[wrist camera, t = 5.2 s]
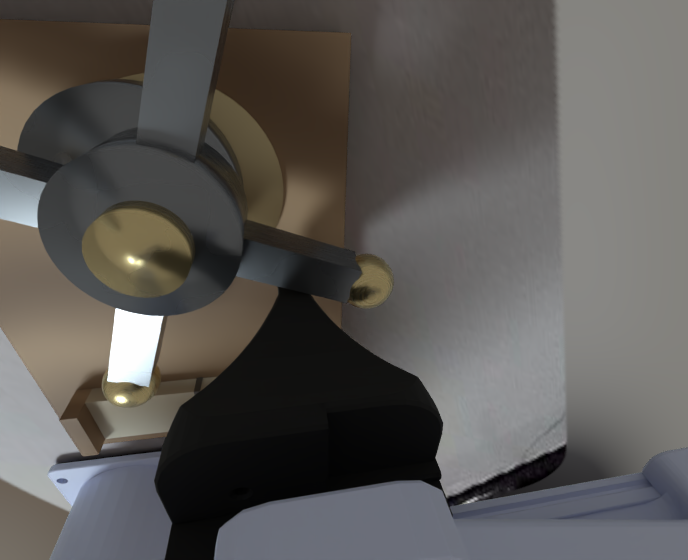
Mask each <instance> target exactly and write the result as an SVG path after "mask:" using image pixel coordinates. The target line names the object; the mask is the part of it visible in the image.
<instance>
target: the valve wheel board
mask: <svg viewBox="0 0 688 560" xmlns="http://www.w3.org/2000/svg"><path fill="white" fill-rule="evenodd" d="M149 31H150V25H137V24H112V23H86V22H61V21H35V20H10V19H0V146H3V147H6V148H10V149H13V150H16V151H17V147H18V143H19V138H20V134H21V132H22V130H23V127H24V125H25V123H26V121H27V120H28V118H29V117H30V115H31V114H32V113H33V111H34V110H35V109H36V108H37V107H38V106H39V105H40V104H42V103H43V102H44V101H45V100H47V99H48V98H50V97H51V96H53V95H55V94H56V93H59V92H61V91H63V90H66V89H68V88H71V87H75V86H80V85H84V84H88V83H92V82H96V81H101V80H109V79H129V80H137V81H142V82H143V80H144V72H145V64H146V56H147V47H148V39H149ZM350 52H351V33H341V32H315V31H290V30H264V29H239V28H228V32H227V37H226V42H225V47H224V51H223V56H222V61H221V66H220V70H219V75H218V80H217V85H216V89H215V94H214V99H213V104H212V108H211V113H210V119H211V120H212V121H213V122H214V123H215V124H216V125H217V127H218V128H219V129H220V130H221V131H222V133H223V134H224V135H225V137H226V138H227V140H228V142H229V143H230V145H231V147H232V149H233V151H234V153H235V155H236V157H237V160H238V162H239V165H240V168H241V172H242V177H243V185H244V191H245V194H246V199H247V206H248V217H247V220H250V221H254V222H257V223H260V224H264V225H267V226H270V227H274V228H277V229H280V230H284V231H287V232H290V233H294V234H297V235H300V236H304V237H307V238H310V239H314V240H317V241H320V242H324V243H327V244H330V245H334V246H337V247H340V248H344V229H345V200H346V170H347V141H348V111H349V82H350ZM277 296H278V287H277V286H274V285H269V284H265V283H261V282H257V281H253V280H249V279H245V278H241V277H237V276H236V277H235V279H234V280H233V282H232V284H231V285H230V286H229V287H228V289H227V290H226V291H225V292H224V293H223V294H222V295H221V296H220V297H219V298H217V299H216V300H214V301H213V302H212V303H210V304H208V305H206V306H204V307H202V308H200V309H197V310H195V311H192V312H188V313H184V314H179V315H172V316H168V317H167V322H166V327H165V332H164V336H163V341H162V346H161V351H160V355H159V360H158V363H157V366H158V367H159V369H160V372H161V383H160V387H159V389H158V391H157V393H156V394H155V395H154V396H153V398H151V399H150V400H149V401H148V402H146V403H145V404H143V405H140V406H138V407H134V408H121V407H117V406H115V405H113V404H112V403H110V402H109V401H108V400H107V399H106V398H105V396H104V394H103V391H102V379H103V376H104V374H105V372H106V370H107V369H108V367H109V362H110V353H111V345H112V337H113V328H114V320H115V312H116V308H114V307H111V306H109V305H107V304H104V303H102V302H100V301H98V300H96V299H94V298H93V297H91V296H89V295H88V294H86V293H85V292H83V291H82V290H80V289H79V288H78V287H76V286H75V285H74V284H73V283H71V282H70V281H69V280H68V279H67V278H66V277H65V276H64V275H63V274H62V273H61V272H60V271H59V269H58V268H57V267H56V265H55V264H54V263H53V262H52V260H51V258H50V257H49V255H48V253H47V252H46V250H45V247H44V245H43V243H42V240H41V237H40V233H39V229H38V228H36V227H32V226H28V225H24V224H20V223H16V222H12V221H7V220H3V219H0V327H1V329H2V330H3V332H4V334H5V335H6V337H7V338H8V340H9V341H10V343H11V344H12V346H13V347H14V349H15V350H16V352H17V354H18V355H19V357H20V358H21V360H22V361H23V363H24V364H25V366H26V367H27V369H28V371H29V372H30V374H31V375H32V377H33V378H34V380H35V381H36V383H37V384H38V386H39V387H40V389H41V391H42V392H43V394H44V395H45V397H46V398H47V400H48V401H49V403H50V404H51V406H52V408H53V409H54V411H55V412H56V414H57V415H58V417H59V418H60V419H59V421H60V422H61V424H62V425H63V427H64V428H65V430H66V431H67V433H68V435H69V436H70V438H71V439H72V441H73V442H74V444H75V445H76V447H77V448H78V450H79V451H80V453H81V454H82V456H91V455H99V453H100V450H101V448H102V446H103V444H107V443H115V442H124V441H132V440H141V439H150V438H158V437H166V436H167V434H168V431H169V429H170V426H171V424H172V422H173V420H174V417H175V415H176V413H177V411H178V409H179V407H180V406H181V405H182V404H184V403H185V402H186V401H188V400H189V399H190V398H192V397H193V396H194V395H196V394H197V393H198V392H200V391H201V390H202V389H204V388H205V387H206V386H207V385H209V384H210V383H211V382H212V381H213V380H214V379H215V378H217V377H218V376H219V375H220V374H221V373H222V372H223V371H224V370H225V369H226V368H227V367H228V366H229V365H230V364H231V363H232V362H233V361H234V360H235V359H236V358H237V357H238V356H239V354H240V353H241V352H242V351H243V350H244V349H245V347H246V346H247V345H248V344H249V343H250V341H251V340H252V339H253V337H254V336H255V334H256V333H257V332H258V330H259V329H260V327H261V326H262V324H263V323H264V321H265V319H266V317H267V316H268V314H269V312H270V310H271V309H272V307H273V305H274V303H275V300H276V298H277ZM311 296H312V297H313V298H314V300H315V301H316V302H317V304H318V305H319V306H320V307H321V309H322V310H323V311H324V312H325V313H326V314H327V316H328V317H329V318H330V319H331V320H332V321H333V322H334V323H335V324H336V325H337V326H338V327H339V328H340V329H341V318H342V302H339V301H335V300H331V299H327V298H323V297H319V296H314V295H311Z"/></svg>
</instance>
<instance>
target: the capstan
mask: <svg viewBox="0 0 688 560" xmlns="http://www.w3.org/2000/svg"><path fill="white" fill-rule="evenodd" d="M233 4H234V0H153V6H152V14H151V22H150V31H149V39H148V47H147V56H146V64H145V72H144V80H143V82H142V81H137V80H129V79H109V80H101V81H96V82H92V83H88V84H84V85H80V86H75V87H71V88H68V89H66V90H63V91H61V92H59V93H56V94H55V95H53V96H51V97H50V98H48V99H47V100H45V101H44V102H43V103H42V104H40V105H39V106H38V107H37V108H36V109H35V110H34V111H33V113H32V114H31V115H30V117H29V118H28V120H27V121H26V123H25V125H24V127H23V130H22V132H21V134H20V138H19V143H18V147H17V151H16V150H13V149H10V148H6V147H3V146H0V219H3V220H7V221H12V222H16V223H20V224H24V225H28V226H32V227H36V228H38V229H39V233H40V237H41V240H42V243H43V245H44V247H45V250H46V252H47V253H48V255H49V257H50V258H51V260H52V262H53V263H54V264H55V265H56V267H57V268H58V269H59V271H60V272H61V273H62V274H63V275H64V276H65V277H66V278H67V279H68V280H69V281H70V282H71V283H73V284H74V285H75V286H76V287H78V288H79V289H80V290H82V291H83V292H85V293H86V294H88V295H89V296H91V297H93V298H94V299H96V300H98V301H100V302H102V303H104V304H107V305H109V306H111V307H114V308H116V312H115V320H114V328H113V337H112V345H111V353H110V362H109V367H108V369H107V370H106V372H105V374H104V376H103V379H102V391H103V394H104V396H105V398H106V399H107V400H108V401H109V402H110V403H112V404H113V405H115V406H117V407H121V408H134V407H138V406H140V405H143V404H145V403H146V402H148V401H149V400H150V399H151V398H153V396H154V395H155V394H156V393H157V391H158V389H159V387H160V383H161V372H160V369H159V367H158V366H157V363H158V360H159V355H160V351H161V346H162V341H163V336H164V332H165V327H166V322H167V317H168V316H172V315H179V314H184V313H188V312H192V311H195V310H197V309H200V308H202V307H204V306H206V305H208V304H210V303H212V302H213V301H214V300H216V299H217V298H219V297H220V296H221V295H222V294H223V293H224V292H225V291H226V290H227V289H228V287H229V286H230V285H231V284H232V282H233V280H234V279H235V277H236V276H237V277H241V278H245V279H249V280H253V281H257V282H261V283H265V284H269V285H274V286H278V287H282V288H286V289H290V290H294V291H298V292H302V293H306V294H310V295H314V296H319V297H323V298H327V299H331V300H335V301H339V302H343V303H347V301H348V302H349V303H350V304H352V305H353V306H356V307H358V308H363V309H369V308H374V307H377V306H379V305H381V304H382V303H384V302H385V301H386V300H387V299H388V297H389V296H390V294H391V292H392V289H393V284H394V279H393V273H392V271H391V268H390V267H389V265H388V264H387V263H386V262H385V261H384V260H383V259H382V258H380V257H378V256H376V255H372V254H360V255H357V256H356V254H355V252H354V251H350V250H347V249H344V248H340V247H337V246H334V245H330V244H327V243H324V242H320V241H317V240H314V239H310V238H307V237H304V236H300V235H297V234H294V233H290V232H287V231H284V230H280V229H277V228H274V227H270V226H267V225H264V224H260V223H257V222H254V221H250V220H247V217H248V206H247V199H246V194H245V191H244V185H243V177H242V172H241V168H240V165H239V162H238V160H237V157H236V155H235V153H234V151H233V149H232V147H231V145H230V143H229V142H228V140H227V138H226V137H225V135H224V134H223V133H222V131H221V130H220V129H219V128H218V127H217V125H216V124H215V123H214V122H213V121H212V120H211V119H210V113H211V108H212V104H213V99H214V94H215V89H216V85H217V80H218V75H219V70H220V66H221V61H222V56H223V51H224V47H225V42H226V37H227V32H228V28H229V23H230V18H231V13H232V9H233Z"/></svg>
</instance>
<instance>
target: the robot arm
mask: <svg viewBox="0 0 688 560" xmlns="http://www.w3.org/2000/svg"><path fill="white" fill-rule="evenodd" d="M277 287H278V286H277ZM442 430H443V422H442V419H441V416H440V414H439V411H438V409H437V407H436V405H435V403H434V401H433V399H432V398H431V396H430V395H429V393H428V392H427V390H426V388H425V387H424V385H423V384H422V382H421V381H420V379H419V378H418V377H417V376H415V375H413V374H411V373H408V372H406V371H404V370H402V369H400V368H398V367H396V366H394V365H392V364H390V363H388V362H386V361H384V360H383V359H381V358H379V357H378V356H376V355H374V354H373V353H371V352H370V351H368V350H367V349H365V348H364V347H362V346H361V345H360V344H358V343H357V342H355V341H354V340H353V339H352V338H350V337H349V336H348V335H347V334H346V333H345V332H344V331H342V330H341V329H340V328H339V327H338V326H337V325H336V324H335V323H334V322H333V321H332V320H331V319H330V318H329V317H328V316H327V314H326V313H325V312H324V311H323V310H322V309H321V307H320V306H319V305H318V304H317V302H316V301H315V300H314V298H313V297H312V296H311V295H310V294H306V293H302V292H298V291H294V290H290V289H286V288H282V287H278V296H277V298H276V300H275V303H274V305H273V307H272V309H271V310H270V312H269V314H268V316H267V317H266V319H265V321H264V323H263V324H262V326H261V327H260V329H259V330H258V332H257V333H256V334H255V336H254V337H253V339H252V340H251V341H250V343H249V344H248V345H247V346H246V347H245V349H244V350H243V351H242V352H241V353H240V354H239V356H238V357H237V358H236V359H235V360H234V361H233V362H232V363H231V364H230V365H229V366H228V367H227V368H226V369H225V370H224V371H223V372H222V373H221V374H220V375H219V376H218V377H217V378H215V379H214V380H213V381H212V382H211V383H210V384H209V385H207V386H206V387H205V388H204V389H202V390H201V391H200V392H198V393H197V394H196V395H194V396H193V397H192V398H190V399H189V400H188V401H186V402H185V403H184V404H182V405H181V406H180V407H179V409H178V411H177V413H176V415H175V417H174V420H173V422H172V424H171V426H170V429H169V431H168V434H167V436H166V438H165V441H164V444H163V447H162V451H159V452H150V453H142V454H134V455H126V456H118V457H109V458H101V459H93V460H85V461H77V462H69V463H60V464H55V465H53V466H52V467H51V468H50V470H49V472H48V477H49V478H50V479H51V481H52V482H53V483H54V484H55V486H56V487H57V488H58V489H59V491H60V492H61V493H62V494H63V496H64V497H65V498H66V500H67V501H68V502H69V503H70V505H71V506H72V509H71V511H70V513H69V516H68V518H67V520H66V523H65V525H64V527H63V530H62V532H61V534H60V536H59V539H58V541H57V544H56V546H55V548H54V550H53V552H52V555H51V557H50V559H49V560H688V447H686V448H681V449H675V450H669V451H665V452H662V453H659V454H657V455H655V456H654V457H652V458H651V459H650V460H649V461H648V462H647V463H646V465H645V466H644V468H643V471H642V472H641V473H635V474H630V475H624V476H618V477H613V478H608V479H602V480H597V481H591V482H585V483H580V484H574V485H568V486H563V487H558V488H552V489H547V490H541V491H535V492H530V493H525V494H518V495H513V496H507V497H502V498H496V499H491V500H485V501H480V502H474V503H469V504H463V505H457V506H452V507H450V506H449V504H448V501H447V499H446V496H445V493H444V491H443V488H442V486H441V483H440V481H439V480H440V479H441V471H440V469H439V466H438V464H437V461H436V459H435V457H436V454H437V450H438V446H439V443H440V439H441V435H442Z"/></svg>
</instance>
